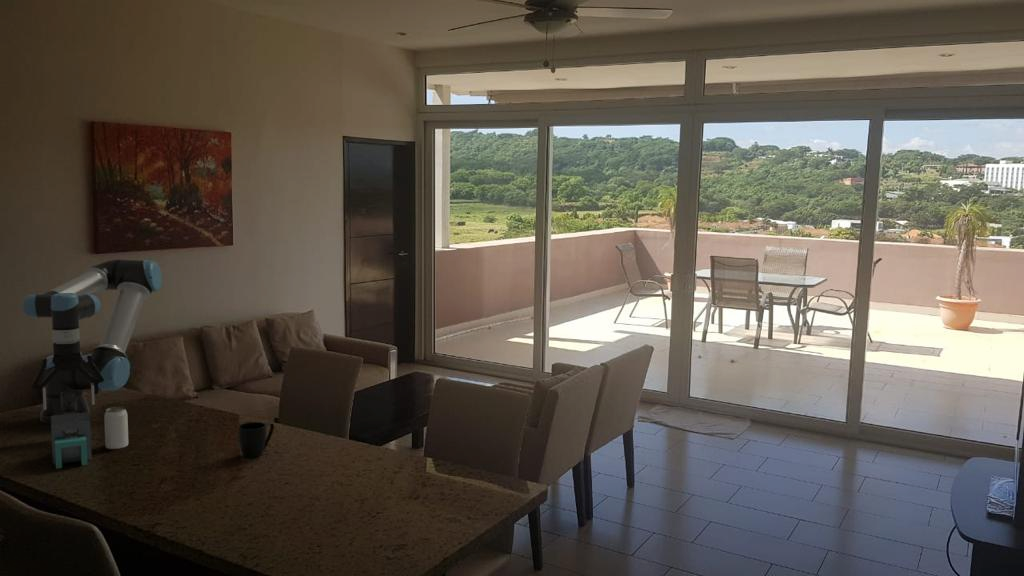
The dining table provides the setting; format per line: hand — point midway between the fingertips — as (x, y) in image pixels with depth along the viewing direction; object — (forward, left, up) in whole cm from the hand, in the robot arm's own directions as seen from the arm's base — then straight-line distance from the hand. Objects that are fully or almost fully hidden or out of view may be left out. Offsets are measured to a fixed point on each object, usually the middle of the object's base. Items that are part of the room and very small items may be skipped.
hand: (69, 406), depth 254 cm
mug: (+44, +49, -10) cm, 67 cm away
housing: (+22, 0, -10) cm, 24 cm away
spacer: (+30, 0, -10) cm, 31 cm away
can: (+17, +12, -10) cm, 24 cm away
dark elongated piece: (+12, 0, -4) cm, 12 cm away
